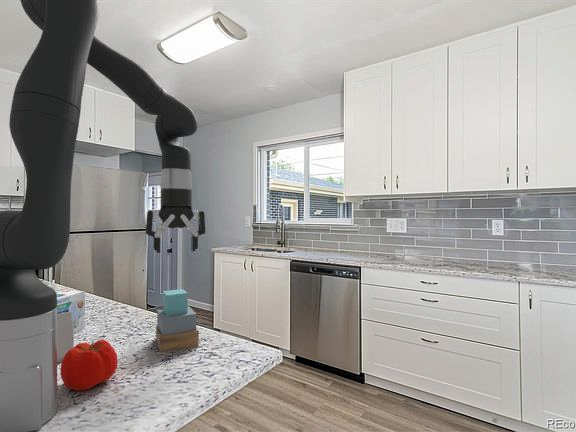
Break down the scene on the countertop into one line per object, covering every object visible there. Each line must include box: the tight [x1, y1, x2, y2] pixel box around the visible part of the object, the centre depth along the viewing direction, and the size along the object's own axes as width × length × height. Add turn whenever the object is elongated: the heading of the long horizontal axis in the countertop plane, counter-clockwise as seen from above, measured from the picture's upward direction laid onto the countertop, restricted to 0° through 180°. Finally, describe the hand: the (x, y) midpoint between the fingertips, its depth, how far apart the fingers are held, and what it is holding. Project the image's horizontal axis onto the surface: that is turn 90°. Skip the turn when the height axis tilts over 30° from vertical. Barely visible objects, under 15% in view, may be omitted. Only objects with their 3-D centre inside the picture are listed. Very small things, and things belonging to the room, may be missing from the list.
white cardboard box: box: [57, 312, 75, 362], centre depth 75 cm, size 4×7×10 cm, turn 137°
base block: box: [155, 324, 200, 353], centre depth 85 cm, size 9×9×4 cm
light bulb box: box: [56, 289, 86, 334], centre depth 91 cm, size 11×7×11 cm, turn 168°
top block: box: [156, 305, 197, 336], centre depth 85 cm, size 8×8×4 cm
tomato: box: [59, 339, 119, 391], centre depth 65 cm, size 9×9×8 cm
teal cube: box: [162, 288, 189, 316], centre depth 85 cm, size 5×5×5 cm
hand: (176, 251), depth 85 cm, fingers open, 8 cm apart
